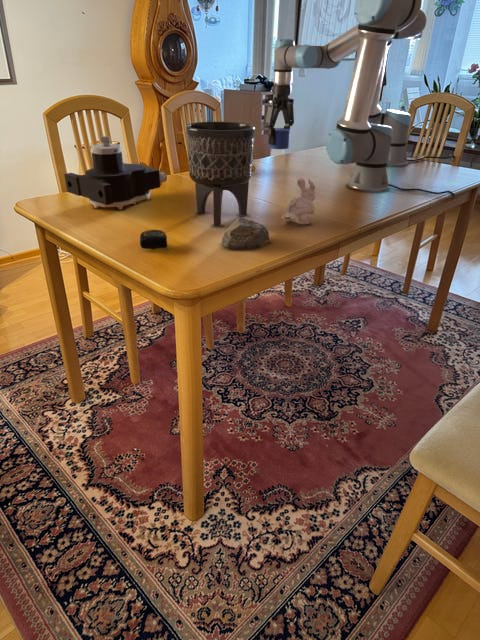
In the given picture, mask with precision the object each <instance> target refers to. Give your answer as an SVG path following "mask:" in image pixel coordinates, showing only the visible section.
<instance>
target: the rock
mask: <svg viewBox="0 0 480 640" xmlns="http://www.w3.org/2000/svg"><path fill="white" fill-rule="evenodd" d="M269 241H270V233H269V230H268V229H267V228H266V226H265V225H263V224H261V223H259V222H256V221H255V220H252V219H247V218H245V217H241V216H238V217H237V218H236V219H235V221H234V222H233V223H232V224H231V225H229V226H228V227H227V228H226V229H225V231H224V233H223V236H222V239H221V244H222V247H224V248H229V249H231V250H245V249H254V248H257V247H259V246H260V245H264V244H266V242H269Z"/></svg>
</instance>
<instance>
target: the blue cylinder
mask: <svg viewBox="0 0 480 640" xmlns="http://www.w3.org/2000/svg"><path fill="white" fill-rule="evenodd" d="M274 128H275V143H274V145H270V144H268V142H269V137H268V139H267V140H268V142H267V148H268V149H271V150H287V149H289V148H290V137H291V128H290V129H286V128H284V127H274Z"/></svg>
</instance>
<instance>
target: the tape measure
mask: <svg viewBox="0 0 480 640" xmlns="http://www.w3.org/2000/svg"><path fill="white" fill-rule="evenodd" d="M167 236H168V235H167V234H166V232H165V231H164V230H161V229H147V230H144V231H143V232H141V233H140V235H139V240H140V241H139V245H140V246H139V247H141V248H142V249H146V250H157V249H167V248H168V240H167V239H168V237H167Z"/></svg>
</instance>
